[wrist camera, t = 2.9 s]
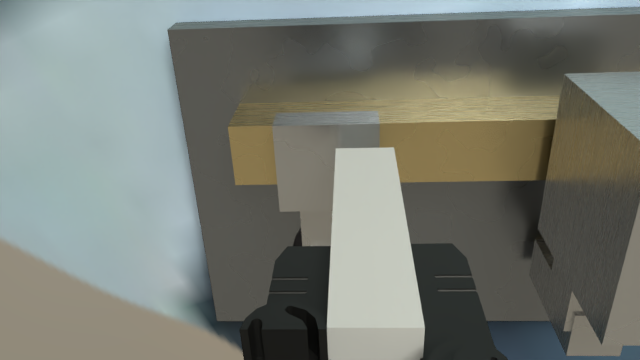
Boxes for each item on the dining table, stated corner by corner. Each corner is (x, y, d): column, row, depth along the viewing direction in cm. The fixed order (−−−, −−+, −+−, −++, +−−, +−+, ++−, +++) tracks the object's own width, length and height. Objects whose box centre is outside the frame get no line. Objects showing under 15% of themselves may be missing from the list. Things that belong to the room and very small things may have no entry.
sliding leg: (540, 52, 17) (653, 151, 11) (642, 49, 17) (817, 149, 10) (508, 271, 21) (577, 438, 15) (590, 271, 21) (695, 439, 14)
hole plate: (176, 22, 18) (166, 30, 17) (1095, -9, 17) (1141, -2, 16) (222, 305, 24) (216, 322, 23) (911, 303, 22) (937, 322, 21)
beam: (238, 91, 18) (219, 127, 16) (1056, 70, 17) (1189, 105, 14) (258, 268, 22) (246, 322, 19) (941, 263, 20) (1030, 321, 17)
